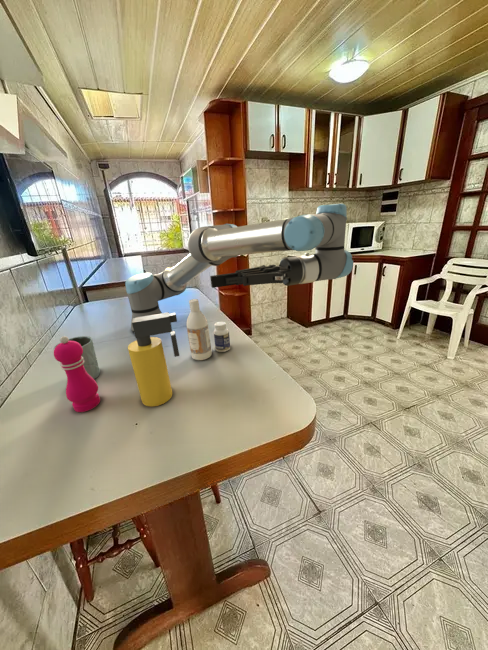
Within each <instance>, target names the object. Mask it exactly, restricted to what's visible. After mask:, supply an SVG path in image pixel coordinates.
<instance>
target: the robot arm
mask: <svg viewBox="0 0 488 650" xmlns="http://www.w3.org/2000/svg"><path fill="white" fill-rule="evenodd" d="M347 209H348V208H347V205H346V204H344V203H331V204H330V203H329V204H322V205H318V206H317V208H316V212H315V214H314V213H313V214H310V213H308V214H300V215H297V216H294V217H289V218H281V219H275V220H269V221H263V222H258V223H253V224H247V225H240V226H237V225H236V224H234V223H232V224H231V223H224V224H217V225H207V226H200V227H197V228H195V229H194V230H193V231H192V232H191V233H190V234H189V236H188V239H187V249H188V250H187V251H188V253H189V254H187V256H185V257H184V258H183V259H181V261H180V262H178V263H177V264H176V265H174V266H168V267H166V268H165V269H164V270H163V271H162V272H160V273H156V274H152V273H151V272H143V273H138V274H135V275H133V276H131V277H128V278H127V279H126V281H125V282H124V284H125V292H126V294H127V299H128V303H129V306H130V310H131V319H130V320H131V321H130V329H131V332H132V333H134V330H133V326H132V320H133V318H136V317H142V316H148V315H155V314H161V313H163V312H162V311H161V309H160V304H159V302H160V301H163V300H166V299H169V298H172V297H176V296H180V295H181V294H183V293H184V292H185V291H186V290H187V286H188V283H189V282H190V281H192V280H193V279H195V278H196V277H197V276H199V275H200V274H202V273H203V272H205V271H206V270H207V269H209V268H210V267H212V266H213V267H218V266H220V265H222V264H223V263H225V262H226V261H227V260H230V259H232V258H237V257H238V256H244V255H255V254H267V253H268V254H269V253H277V252H287V251H296V252H305V253H304V254H301V255H297V256H296V255H294V256H293V255H291V256H285V257H282V258H281V260H280V261H279V264H278V265H276V264H268V265H267V266H266V265H265V264H263V265H259V266H255V267H254V266H253V267H250V268H244V269H238V270H235V272H230V273H222V274H214V275H209V276H210V286H211V288H212V289H215V288H221V287H222V288H223V287H228V286H229V287H230V286H241V285H243V286H244V287H247V286H257V285H268V284H269V285H270V284H283V285H284V286H286V287H288V286H289V287H290V286H296V285H303V284H309V283H314V282H315V283H316V282H318V281H328V280H337V279H341V278H344V277H347V276H349V274H350V273H352V271H353V268H354V260H353V255H352V254H351V252H350V251H349V250H346V249H345V243H346V229H347V220H348V216H347V214H348V213H347V212H348V211H347ZM313 249H314V250H315V253H310V252H308V251H312V250H313Z"/></svg>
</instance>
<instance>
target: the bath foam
mask: <svg viewBox="0 0 488 650" xmlns="http://www.w3.org/2000/svg"><path fill="white" fill-rule="evenodd" d="M188 303H189V310H190V311H189V314H188V316H187V317H186V318H187V319H186V330H187V331H186V332H187V338H188V343H189V350H190V355H191V358H192V359H193V360H195V361H204V360H208V359H209V358H210V357H211V356H212V354H213V352H212V344H211V337H210V330H209V329H210V327H209V322H208V320H207V317H206V316H205V314H204V313H203V312H202V311H201V310H200V302H199V299H197V298H193V299H190V300H188Z"/></svg>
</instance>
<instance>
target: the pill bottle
mask: <svg viewBox="0 0 488 650" xmlns="http://www.w3.org/2000/svg"><path fill="white" fill-rule="evenodd" d="M213 340H214V348H215V350H216V352H219V353H224V352H228V351H229V350H231V338H230V330H229V329H228V327H227V322H225V321H217V322H215V323H214V329H213Z"/></svg>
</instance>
